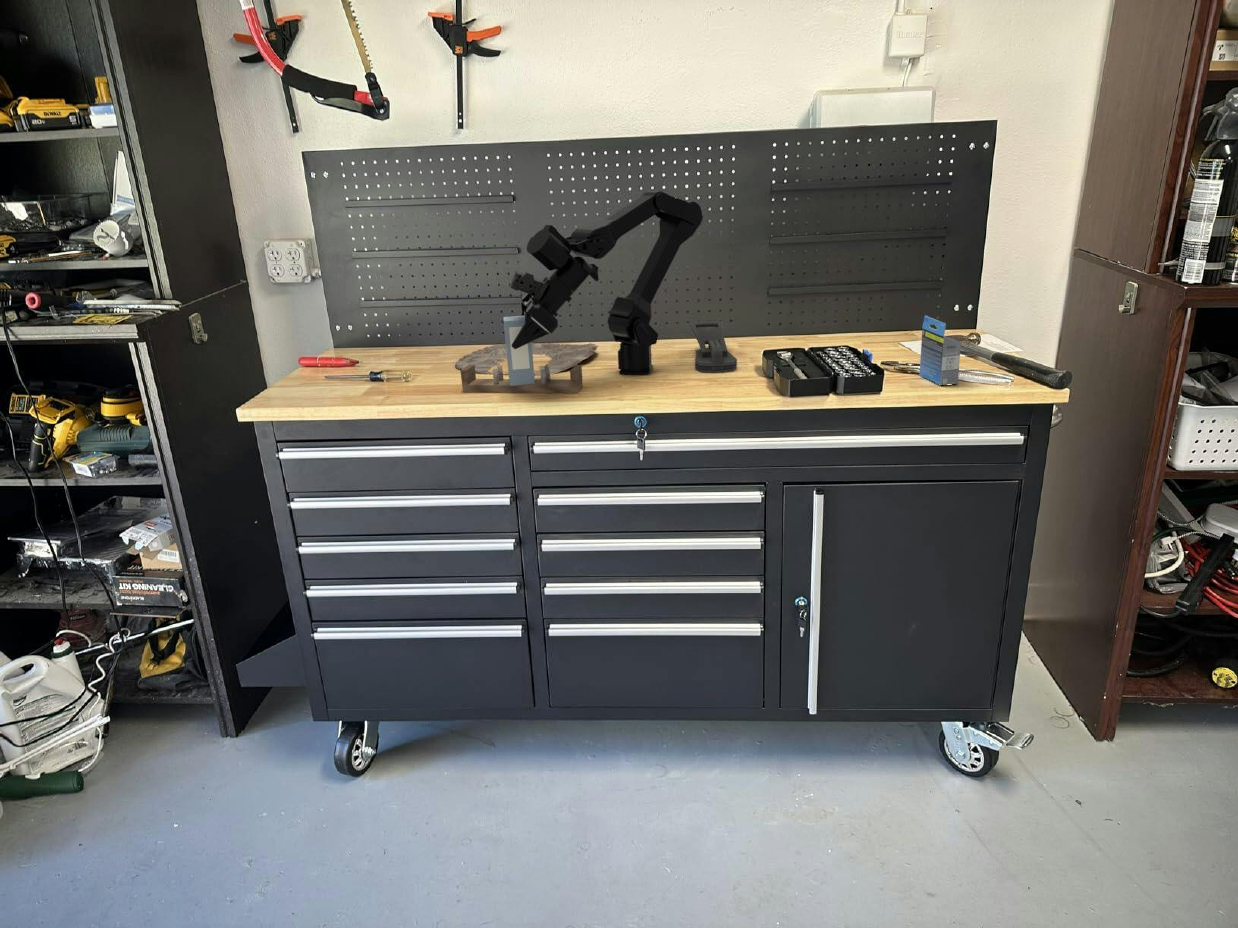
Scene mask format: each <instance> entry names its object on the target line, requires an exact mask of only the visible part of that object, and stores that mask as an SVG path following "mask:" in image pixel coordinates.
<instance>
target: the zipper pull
mask: <svg viewBox="0 0 1238 928" xmlns="http://www.w3.org/2000/svg"><path fill="white" fill-rule="evenodd" d="M689 327H690V329H691V331H692V333H693V335H694V337H695V339H696V342H697V343H698V346H699V349H696V350H695V359H694V370H695V371H697V372H699V373H700V374H723V373H725V374H726V373H732V372H735V371H737V370H736V369H738V364H737V363H738V362H737V361H738V359H737V358H736V357H735V355H734V354H732V353H731V352H730V351H729V350H728V346H727V344H726V341H725V332H724V323H723V320H719V319H718V320H716V319H715V320H711V319H710V320H696V321H695V320H694V321H690V322H689ZM706 345H708V346H706Z"/></svg>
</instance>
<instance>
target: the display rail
mask: <svg viewBox="0 0 1238 928" xmlns="http://www.w3.org/2000/svg"><path fill="white" fill-rule="evenodd" d="M543 366H544V368H545V369H541V370H539V371H541V376H540V379H539V378H535V384H527V385H515V386H510V382H509V378H504V375H503V374H504V371H503V365H497V366H496V367H497V368H493V369H492V373H493V375H492V376H493V377H492V378H477V375H476V373H475V365H468V366H466V367H465V368H464V369H462V370H461V369H460V378H461V388H462V393H499V394H500V393H501V394H502V393H504V394H505V393H507V394H509V393H511V394H512V393H514V394H515V393H518V394H519V393H520V394H523V393H524V394H525V393H526V394H529V393H530V394H578V393H579V392H580V390H582V388H583V386H584V385H583V384H584V383H583V382H584V381H583V369H582V368H583V367H582V364H577V365H575V366H573V367H572V369H570V371H569V376H570V378H569V379H567V378H566V379H564V378H563V379H562V378H561V379H560V378H557V379H556V378H555V379H554V378H551V375H550V369H549V366H545V365H543Z"/></svg>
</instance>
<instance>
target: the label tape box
mask: <svg viewBox="0 0 1238 928" xmlns="http://www.w3.org/2000/svg"><path fill="white" fill-rule="evenodd" d="M933 325H934V327H936V329H935V328H934V327H931V326H933ZM946 326H947V324H946V322H943V321H940V320H938V319H935V318H932V317H930V316H928V315H924V319H923V323H922V328H921V332H922V333H921V346H920V359H919V360H920V361H919V362H920V363H919V377H921V376H922V377H921V378H923V377H924V378H923V379H925V378H926V379H925V380H927V379H928V380H927V381H929V380H930V382H932V381H933V382H932V383H934V382H935V383H934V384H936V385H938V384H940V385H947V384H958V385H959V378H960V377H959V373H960V363H961V362H960V361H961V350H962V349H961V348H962V347H961V346H962V343H961V341H958V340H956V339H953V338H952V337H948V336H946V335H945V332H946Z"/></svg>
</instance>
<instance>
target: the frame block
mask: <svg viewBox="0 0 1238 928" xmlns="http://www.w3.org/2000/svg"><path fill="white" fill-rule="evenodd" d="M502 318H503V328H504V338H505V344H506V351H507V359H506V362H507V370H508V371H507V373H509V375H508V379H509V382H510V386H515V385H527V384H535V379H536V378H535V376H534V373H535V369H534V368H535V367H534V366H535V365H534V354H533V353H532V343H533V341H532V342H530V343H528V344H525V345H523V346H521V347H519V348H517V349H514V348H513V347H512V346H511V345H512V343H513V341H514V340H515V338H516V336H517V335H518V333H519V331H520V330H521V328H522V326H523V325H524V323H525V316H520V315H515V316H514V315H513V316H512V315H511V316H503V317H502Z"/></svg>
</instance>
